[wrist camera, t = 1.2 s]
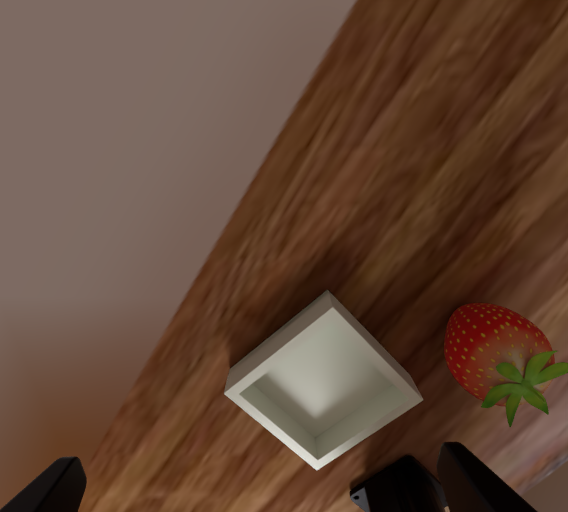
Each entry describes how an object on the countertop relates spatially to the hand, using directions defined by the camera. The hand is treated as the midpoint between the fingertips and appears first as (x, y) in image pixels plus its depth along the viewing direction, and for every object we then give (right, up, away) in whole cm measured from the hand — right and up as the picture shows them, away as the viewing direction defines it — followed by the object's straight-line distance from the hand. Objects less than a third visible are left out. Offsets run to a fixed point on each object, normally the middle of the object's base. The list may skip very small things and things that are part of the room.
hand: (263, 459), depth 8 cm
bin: (+3, -3, +16) cm, 17 cm away
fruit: (+13, +1, +15) cm, 19 cm away
